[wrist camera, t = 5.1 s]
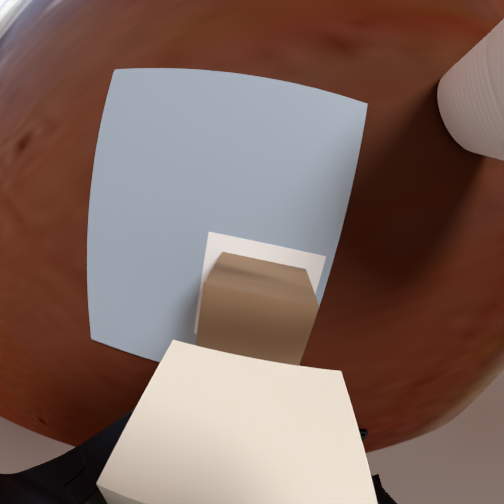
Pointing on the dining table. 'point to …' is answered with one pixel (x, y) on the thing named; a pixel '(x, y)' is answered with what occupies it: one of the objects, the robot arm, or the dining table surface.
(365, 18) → the dining table surface
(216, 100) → the mat
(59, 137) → the dining table surface
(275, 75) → the dining table surface
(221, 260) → the walnut block
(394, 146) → the dining table surface
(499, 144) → the cup
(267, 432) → the cream block
